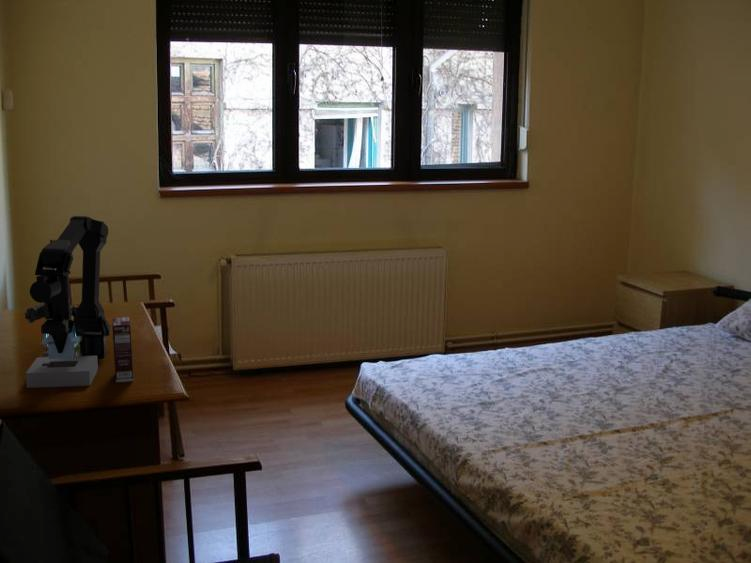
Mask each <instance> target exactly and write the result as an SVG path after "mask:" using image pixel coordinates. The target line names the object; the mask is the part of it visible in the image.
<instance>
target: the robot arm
mask: <svg viewBox="0 0 751 563" xmlns="http://www.w3.org/2000/svg"><path fill="white" fill-rule="evenodd" d="M108 236H109V227H108V225H107V224H106V223H105V222H104V221H102V220H96V219H93V218H91V217H90V216H87V215H73V216H71V217H70V219H69V223H68V224H67V225H66V227H65V228H64V230H63V231H62V232H61V234H60V235H59V237H58V238H57V239H56V240H55V241H52V242H50V243H47V244H46V245H45V246H44V247H43V248H42V249H41V250H40V252H39V256H38V258H37V263H36V268H35V271H34V275H35V278H36V281H34V282H33V283H32V284H30V285H31V286H30V288H29V294H30V297H31V299H32V300H33V301H34V302H36V303H39V304H38V305H34V306H30V307H28V308H27V309H26V310H25V311H24V318H25V320H27V321H28V323H29V324H32V323H34V322H35V321H38V320H41V319H43V318H44V320H45V321H44V322H43V323H42V325H41V326H40V331H41V332H40V333H41V334H42V335H49V334H50V335H51V336H52V338H53V340H54V343H55V346H56V348H57V351H58V353H63V350H64V347H65V343H66V340H67V337H68V334H69V333H72V331H73V328H74V333H75V337H81V339H79V352H80V353H79V355H80V356H97V359H99V358H105V357H106V355H107V352H108V350H107V349H106V348H107V347H106V346H107V345H106V337H108V336H110V334H111V325H110V323H109V322H108V320H107V319H106V316H105V309H104V308H103V306H102V305H101V303H100V278H101V277H100V272H101V251H102V249H103V248H104V247H105V246H106V244H107V239H108V238H107V237H108ZM78 245H79V247H80V249H81V250H82V271H81V272H82V276H81V278H82V279H81V280H82V281H81V301H80V303H79V305H78V306H77V307H75V306H73V305H71V301H72V294H70V278H69V275H71V271H70V269H71V267H72V263H73V261H74V256H73V252H74V250H75V248H76V247H77V246H78ZM71 317H73V319H70V318H71Z"/></svg>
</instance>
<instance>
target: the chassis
mask: <svg viewBox="0 0 751 563" xmlns="http://www.w3.org/2000/svg"><path fill="white" fill-rule="evenodd" d="M98 371H99V363H98V358H97V356H82V355H74V356H73V358H66V359H49V356H42V357H36V359H35V360H34V361H33V363H32V364H31V365H30V367H29V368H28V369H27V371H26V372H25V379H26V380H25V381H26V382H25V384H26V389H30V388H32V389H33V388H34V389H35V388H57V387H60V388H61V387H84V386H85V387H87V386H91V385H92V382H93V380H94V378H95V377H96V375H97V372H98Z"/></svg>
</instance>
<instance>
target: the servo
mask: <svg viewBox="0 0 751 563" xmlns="http://www.w3.org/2000/svg"><path fill="white" fill-rule="evenodd" d="M79 342H80V336H74V332H71V333H69V334H68V337H67V340H66V343H65V347H64V350H63V353H58V351H57V348H56V346H55V343H54V340H53V338H52V336H51V335H50V334H48V336H47V337H44V338H43V340H42V341H41V345H47V351H44V352H43V356H42V357H49V359H66V358H73V356H75V344H78V343H79Z"/></svg>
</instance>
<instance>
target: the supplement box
mask: <svg viewBox="0 0 751 563" xmlns="http://www.w3.org/2000/svg"><path fill="white" fill-rule="evenodd" d="M111 320H112V321H111V322H112V325H111V327H112V329H111V330H112V345H113V346H112V348H113V361H114V362H113V363H114V373H115V374H114V375H115V382H116V383H124V382H125V383H126V382H127V383H128V382H134V367H133V366H134V363H133V346H132V334H131V321H130V320H131V319H130V316H123V317H122V316H121V317H113V318H112V319H111Z"/></svg>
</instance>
